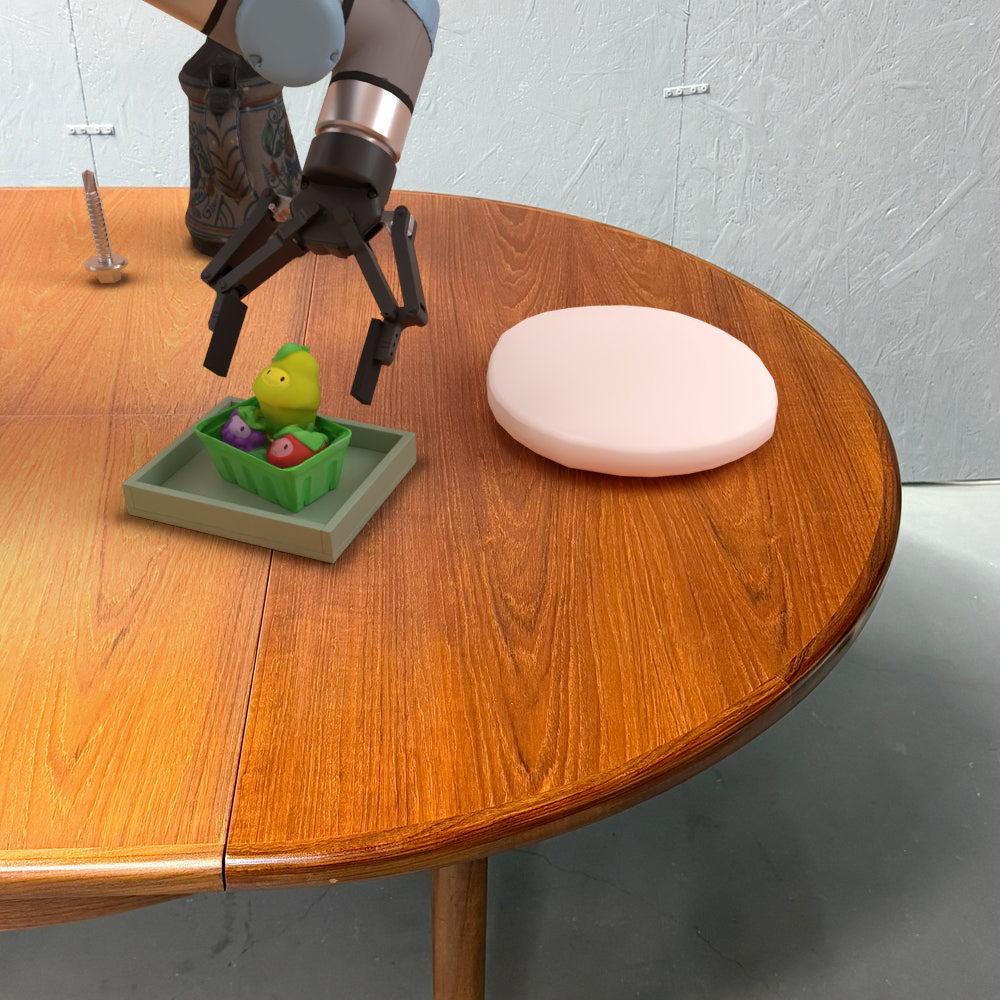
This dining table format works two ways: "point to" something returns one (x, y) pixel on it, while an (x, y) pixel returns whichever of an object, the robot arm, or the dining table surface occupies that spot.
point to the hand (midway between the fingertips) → (285, 386)
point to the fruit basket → (279, 435)
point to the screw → (101, 236)
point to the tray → (252, 519)
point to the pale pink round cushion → (630, 391)
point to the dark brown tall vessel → (233, 144)
